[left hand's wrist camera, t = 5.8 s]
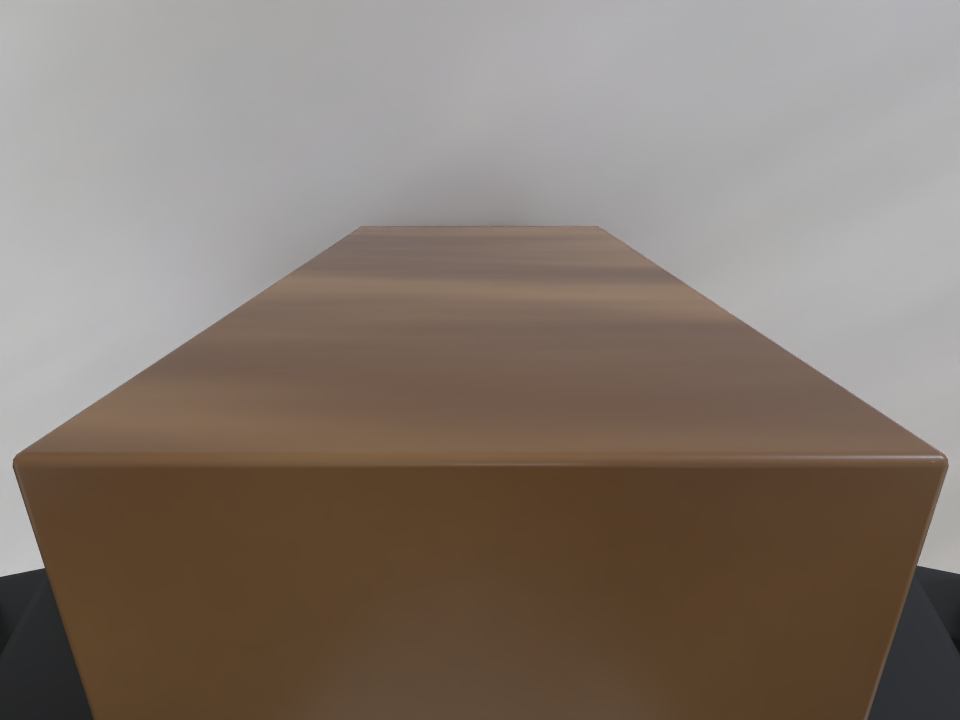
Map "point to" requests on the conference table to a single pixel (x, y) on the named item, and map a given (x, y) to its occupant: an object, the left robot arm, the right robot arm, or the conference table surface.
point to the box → (480, 501)
